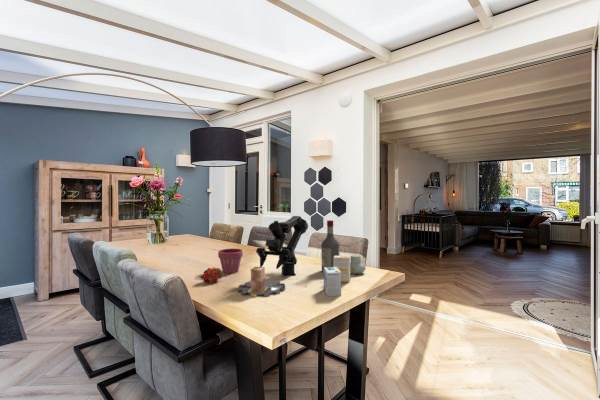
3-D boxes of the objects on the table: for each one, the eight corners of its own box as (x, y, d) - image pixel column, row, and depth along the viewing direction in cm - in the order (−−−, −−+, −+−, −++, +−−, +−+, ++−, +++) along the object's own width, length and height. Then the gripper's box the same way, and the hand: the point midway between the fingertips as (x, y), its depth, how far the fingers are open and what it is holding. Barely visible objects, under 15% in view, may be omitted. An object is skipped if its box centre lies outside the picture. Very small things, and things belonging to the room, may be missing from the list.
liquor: (328, 274, 177) (327, 221, 176) (320, 270, 185) (319, 220, 184) (341, 271, 181) (341, 220, 180) (332, 268, 189) (332, 219, 189)
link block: (264, 287, 148) (264, 267, 148) (261, 291, 144) (260, 269, 143) (254, 287, 149) (254, 266, 149) (251, 290, 145) (250, 269, 144)
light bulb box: (323, 289, 150) (323, 266, 150) (337, 288, 151) (336, 266, 151) (327, 296, 140) (326, 272, 139) (341, 295, 140) (341, 272, 140)
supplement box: (350, 280, 164) (350, 255, 164) (349, 283, 159) (348, 257, 159) (335, 279, 167) (335, 255, 166) (333, 281, 162) (333, 256, 162)
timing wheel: (248, 281, 165) (248, 278, 165) (290, 283, 160) (290, 280, 160) (229, 295, 142) (229, 292, 142) (278, 298, 138) (278, 295, 138)
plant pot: (247, 270, 187) (247, 249, 187) (231, 276, 175) (230, 253, 175) (230, 267, 195) (230, 247, 194) (213, 272, 183) (213, 251, 182)
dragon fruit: (224, 283, 167) (202, 290, 160) (218, 271, 172) (197, 278, 165) (226, 273, 162) (203, 280, 155) (219, 261, 167) (197, 268, 160)
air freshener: (368, 273, 177) (367, 256, 177) (357, 276, 172) (357, 258, 172) (354, 269, 186) (354, 253, 186) (344, 272, 181) (344, 255, 181)
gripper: (257, 232, 163) (246, 257, 154) (289, 233, 156) (279, 260, 146) (265, 244, 171) (254, 269, 161) (296, 246, 163) (287, 272, 154)
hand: (268, 267), depth 155 cm, fingers open, 9 cm apart
